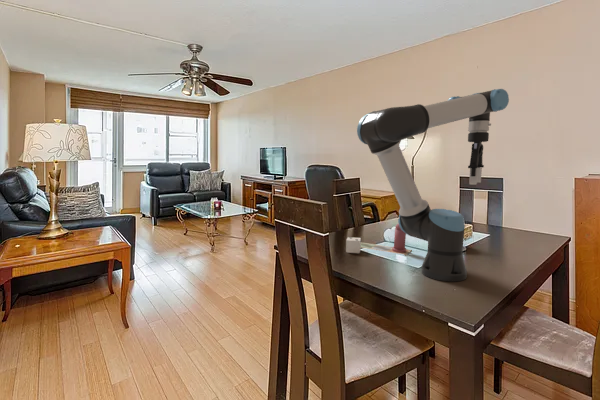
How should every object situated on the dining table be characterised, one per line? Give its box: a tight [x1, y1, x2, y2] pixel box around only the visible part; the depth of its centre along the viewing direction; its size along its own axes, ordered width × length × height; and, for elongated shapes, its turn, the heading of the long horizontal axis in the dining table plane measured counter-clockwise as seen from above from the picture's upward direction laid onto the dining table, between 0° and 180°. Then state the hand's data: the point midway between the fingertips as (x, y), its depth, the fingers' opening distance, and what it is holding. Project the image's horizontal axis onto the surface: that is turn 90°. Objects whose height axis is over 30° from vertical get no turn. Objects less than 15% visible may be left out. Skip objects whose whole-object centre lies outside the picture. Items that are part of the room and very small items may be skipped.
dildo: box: [392, 223, 407, 253], centre depth 148 cm, size 6×6×13 cm
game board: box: [361, 241, 413, 257], centre depth 154 cm, size 9×25×1 cm, turn 55°
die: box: [345, 236, 362, 254], centre depth 149 cm, size 6×6×6 cm
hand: (475, 183), depth 138 cm, fingers open, 13 cm apart
